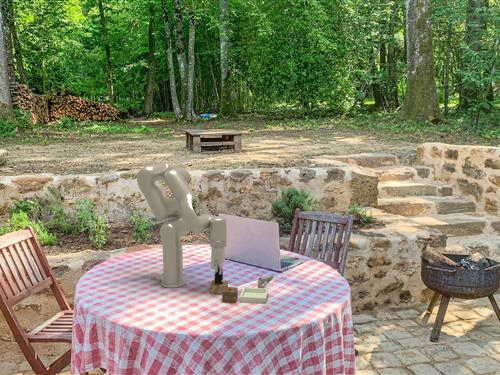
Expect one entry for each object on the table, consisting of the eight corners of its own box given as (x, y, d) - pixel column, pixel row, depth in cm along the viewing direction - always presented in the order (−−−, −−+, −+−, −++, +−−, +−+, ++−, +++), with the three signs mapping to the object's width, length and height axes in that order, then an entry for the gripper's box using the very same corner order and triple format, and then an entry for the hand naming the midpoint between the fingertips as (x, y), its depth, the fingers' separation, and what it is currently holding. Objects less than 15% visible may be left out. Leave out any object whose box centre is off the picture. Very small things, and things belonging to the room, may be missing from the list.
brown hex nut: (209, 293, 230) (209, 285, 230) (212, 288, 238) (212, 280, 237) (225, 294, 229) (225, 286, 229) (228, 288, 237) (227, 280, 236)
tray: (239, 302, 220) (239, 296, 220) (243, 292, 232) (243, 287, 231) (265, 303, 219) (265, 298, 219) (268, 293, 230) (268, 288, 230)
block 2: (222, 302, 220) (222, 291, 219) (224, 297, 226) (224, 286, 225) (235, 303, 219) (235, 292, 219) (237, 297, 225) (237, 287, 225)
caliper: (259, 291, 234) (260, 278, 233) (257, 291, 235) (257, 278, 234) (273, 277, 253) (274, 265, 252) (271, 277, 253) (271, 265, 252)
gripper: (213, 238, 238) (214, 274, 241) (206, 247, 222) (207, 286, 225) (229, 238, 237) (229, 275, 240) (223, 248, 221) (223, 287, 224)
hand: (218, 280), depth 233 cm, fingers closed on pin, 2 cm apart
